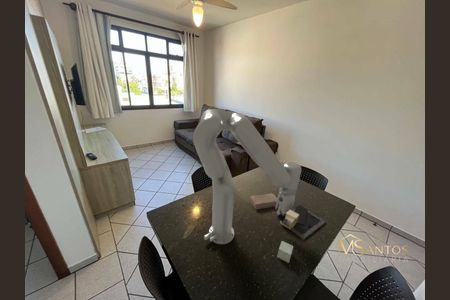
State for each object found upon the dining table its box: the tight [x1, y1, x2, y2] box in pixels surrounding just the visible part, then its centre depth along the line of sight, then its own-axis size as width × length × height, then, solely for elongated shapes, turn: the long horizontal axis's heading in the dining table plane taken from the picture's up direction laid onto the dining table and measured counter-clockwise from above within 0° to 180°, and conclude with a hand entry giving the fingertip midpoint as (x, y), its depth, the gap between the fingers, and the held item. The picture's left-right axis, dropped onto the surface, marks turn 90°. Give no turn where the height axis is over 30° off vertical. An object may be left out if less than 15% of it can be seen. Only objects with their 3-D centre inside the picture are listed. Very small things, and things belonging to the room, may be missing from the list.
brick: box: [249, 193, 278, 210], centre depth 109 cm, size 17×8×5 cm, turn 107°
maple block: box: [279, 209, 299, 231], centre depth 93 cm, size 5×6×8 cm
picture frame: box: [277, 204, 327, 241], centre depth 97 cm, size 16×2×21 cm
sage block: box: [276, 240, 294, 264], centre depth 77 cm, size 5×5×5 cm
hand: (281, 219), depth 88 cm, fingers closed
